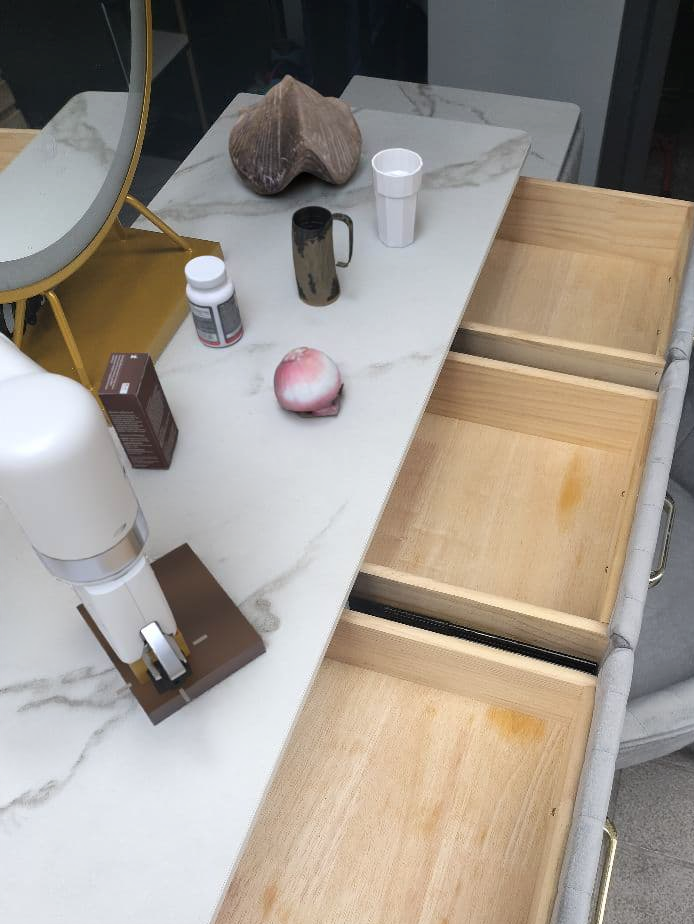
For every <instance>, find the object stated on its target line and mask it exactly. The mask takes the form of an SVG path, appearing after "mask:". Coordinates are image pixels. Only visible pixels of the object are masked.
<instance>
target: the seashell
mask: <svg viewBox="0 0 694 924" xmlns="http://www.w3.org/2000/svg"><path fill="white" fill-rule="evenodd" d="M228 136H229V137H228V153H229V158H230V161H231V163H232V166H233V168H234V170H235V171H236V173H237V175H238V177H239V178H240V179H241V180H242V181H243V183H245V184H246V185H247V186H248V187H249V188H251V189H252V190H253V191H255V192H257V193H258V194H260V195H274V194H277V193H280V192H281V191H283V190H284V189H285V188H286V187H287V186H288V185H289V184H290V183H291V182H292V181H293V180H294V179H295V178H296V177H297V176H299V175H300V174H301V173H304V172H305V173H308V174H311V175H313V176H315V177H317V178H318V179H321V180H323V181H325V182H327V183H330V184H333V185H342V184H344V183H346V182H347V181H349V180H350V178H351V177H352V176H353V174H354V173H355V170H356V168H357V166H358V164H359V161H360V159H361V155H362V143H363V142H362V141H363V138H362V133H361V130H360V128H359V124H358V122H357V120H356V118H355V116H354V115H353V113H352V110H351V106H350V104H349V103H347V102H346V101H345V100H342V99H340V98H339V97H338V98H337V97H334V96H324V95H322V94H320V93H319V91H317V90H315V89H314V88H312V87H310V86H309V85H307V84H305V83H304V82H301V81H299V80H297V79H295V78H294V77H293V76H292V75H290V74H286V75H285V76H284V77H283V78H282V80H281V81H280V82H277V83H276V84H275V85H274V86H272V87H271V88H270V89H269V90H268V91H267V92H266V93H265V94H264V96H263V97H262V98H261V99H260V100H259V101H258V102H257V103H256V104H254V105H249V106H244V107H241V108H239V109H238V114H237V118H236V120H235V123H234V124H233V126H232V128H231V130H230V132H229V135H228Z"/></svg>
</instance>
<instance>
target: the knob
mask: <svg viewBox="0 0 694 924" xmlns="http://www.w3.org/2000/svg"><path fill="white" fill-rule="evenodd" d="M172 637H173V636H172ZM173 639H174V640H175V642H176V644H177V645H178V647H179V649H182V651H183V652H184V654H185V656H186V657H187V656H188V655H190V654H191V653H190V651H189V649H188V647H187V645H186V643H185V640H184V638H183V636H182V634H181V632H180V631H179V630H178V628H177V631H176V634H175V636H174V637H173ZM147 653H148V654H149V656H150V658H151V659H152V661H153V662H155V661H157V660H158V659H157V657H156V656H155V654H154V652H153V651H152V650H150V651H149V652H147ZM129 666H130V668H131V669H132V671H133V673H134V674H135V676H136V677H137V679H138V680H139V682H140V683H141V685H143V684H145V683H146V682H148V681H149V680H150V678H149V676H148V674H147V672H146V671H147V669H148V667H147V665H146V664H145V662H144V661H143V659H142V657H141V658H140V659H139V660H137V661H135V662H133V663H131V664H129Z"/></svg>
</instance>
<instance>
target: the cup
mask: <svg viewBox="0 0 694 924" xmlns="http://www.w3.org/2000/svg"><path fill="white" fill-rule="evenodd" d="M423 166H424V163H423V158H422V157H421V156H420V155H419V154H418V153H417V152H415V151H412V150H410V149H406V148H401V147H397V148H388V149H384V150H380V151H378V153H376V154H374V156H373V157H372V159H371V173H372V175H371V176H372V185H373V189H374V193H375V206H376V217H377V229H378V240H379V241H380V242H381V243H382V244H384V245H385V246H386V247H387V248H398V249H400V248H401V249H402V248H405V247H407V246H409V245H411V244H414V241H415V235H416V222H417V212H418V211H417V209H418V198H419V197H418V196H419V190H420V188H421V187H422V180H423V170H424V169H423V168H424V167H423Z"/></svg>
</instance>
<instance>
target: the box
mask: <svg viewBox="0 0 694 924" xmlns="http://www.w3.org/2000/svg"><path fill="white" fill-rule="evenodd" d="M97 396H98V398H99V400H100V402H101V404H102V406H103V408H104V410H105V413H106V415H107V417H108V419H109V421H110V423H111V425H112V426H113V429H114V431H115V433H116V437H118V440H119V443H120V444H121V447H122V448H123V451H124V453H125V455H126V457H127V459H128V462H129V464H130V465H131V468H132V469H137V470H138V469H141V470H142V469H143V470H168V469H169V468H170V464H171V462H172V457H173V454H174V449H175V445H176V442H177V438H178V434H179V429H178V426H177V423H176V421H175V418H174V415H173V413H172V410H171V407H170V404H169V403H168V400H167V396H166V394H165V391H164V389H163V386H162V384H161V381H160V377H159V375H158V372H157V369H156V368H155V365H154V363H153V360H152V357H151V354H150V353H149V352H111V353H110V355H109V358H108V360H107V364H106V366H105V369H104V373H103V375H102V378H101V381H100V384H99V387H98V390H97Z"/></svg>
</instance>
